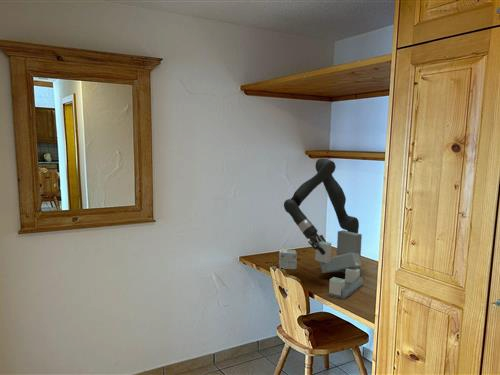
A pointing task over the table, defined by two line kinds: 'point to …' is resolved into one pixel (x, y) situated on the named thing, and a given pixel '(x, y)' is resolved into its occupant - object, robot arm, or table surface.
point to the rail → (349, 288)
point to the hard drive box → (341, 263)
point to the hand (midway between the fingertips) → (326, 252)
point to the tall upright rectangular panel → (348, 244)
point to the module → (327, 249)
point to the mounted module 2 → (352, 274)
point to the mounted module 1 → (336, 286)
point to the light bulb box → (288, 259)
